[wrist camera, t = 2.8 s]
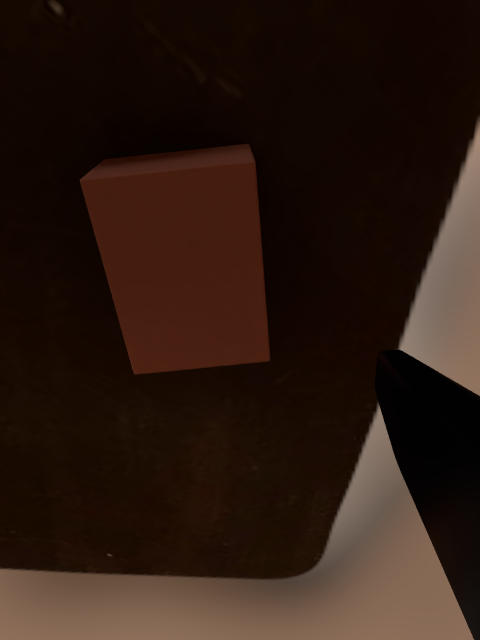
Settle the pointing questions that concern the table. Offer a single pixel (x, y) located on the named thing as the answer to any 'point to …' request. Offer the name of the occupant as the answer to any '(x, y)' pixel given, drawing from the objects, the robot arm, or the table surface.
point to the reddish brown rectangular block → (183, 256)
